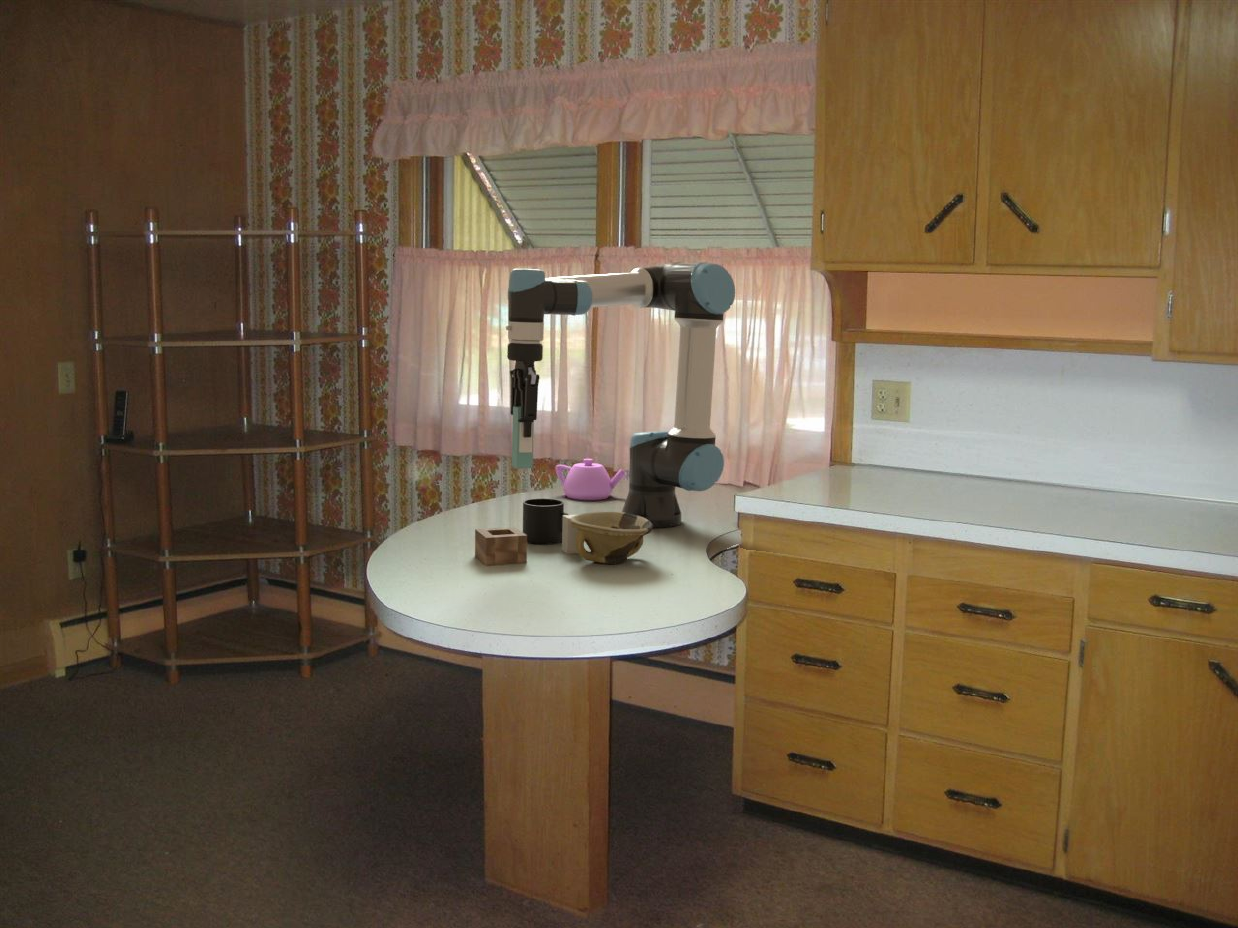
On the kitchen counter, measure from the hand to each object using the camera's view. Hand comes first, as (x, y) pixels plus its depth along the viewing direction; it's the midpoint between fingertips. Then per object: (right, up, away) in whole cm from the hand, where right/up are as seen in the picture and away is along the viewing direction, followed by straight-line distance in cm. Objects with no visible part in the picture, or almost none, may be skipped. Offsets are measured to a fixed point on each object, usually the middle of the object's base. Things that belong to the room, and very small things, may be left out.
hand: (522, 450), depth 261 cm
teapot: (+13, -12, +76) cm, 78 cm away
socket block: (-5, -24, 0) cm, 24 cm away
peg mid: (+10, -22, +10) cm, 26 cm away
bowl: (+19, -24, +1) cm, 31 cm away
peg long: (0, -4, +1) cm, 4 cm away
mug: (+4, -21, +20) cm, 29 cm away
